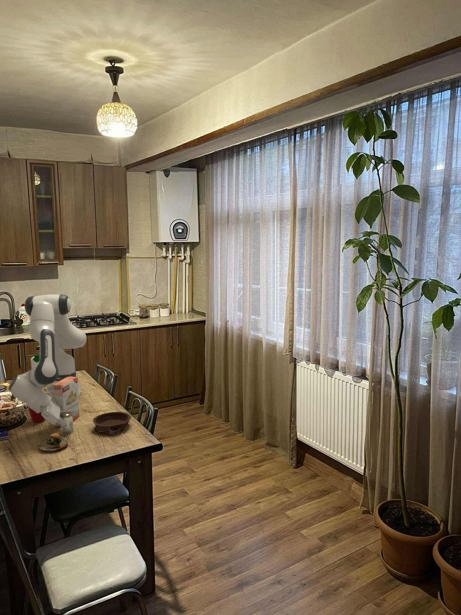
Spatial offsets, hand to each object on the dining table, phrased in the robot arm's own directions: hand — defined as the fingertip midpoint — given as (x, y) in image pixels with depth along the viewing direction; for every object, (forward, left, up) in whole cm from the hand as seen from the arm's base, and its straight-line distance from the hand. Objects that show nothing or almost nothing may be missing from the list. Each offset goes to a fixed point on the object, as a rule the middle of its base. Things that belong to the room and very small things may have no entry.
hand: (65, 420), depth 212 cm
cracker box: (-12, +7, -6) cm, 15 cm away
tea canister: (0, 0, -6) cm, 6 cm away
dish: (+12, +17, -6) cm, 22 cm away
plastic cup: (-24, -2, -6) cm, 25 cm away
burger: (+10, -12, -6) cm, 17 cm away
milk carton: (-79, +27, -6) cm, 84 cm away
